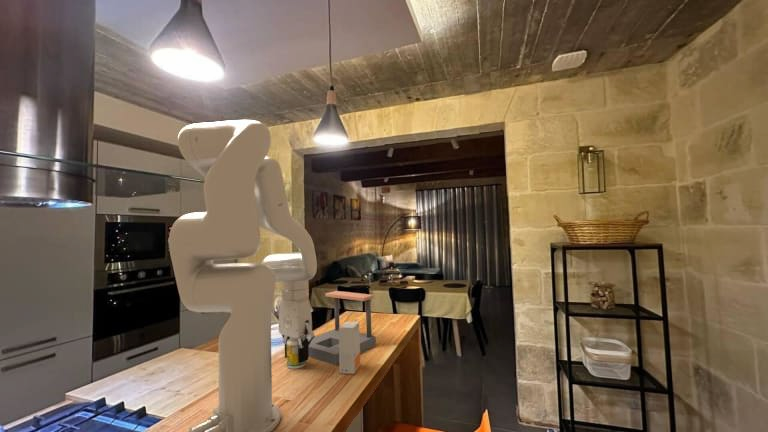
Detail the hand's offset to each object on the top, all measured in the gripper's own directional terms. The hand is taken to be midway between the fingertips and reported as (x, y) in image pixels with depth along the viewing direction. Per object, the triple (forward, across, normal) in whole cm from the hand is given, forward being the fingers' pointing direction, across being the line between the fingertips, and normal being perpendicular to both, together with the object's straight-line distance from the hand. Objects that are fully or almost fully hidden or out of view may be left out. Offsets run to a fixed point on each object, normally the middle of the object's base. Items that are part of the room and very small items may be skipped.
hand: (296, 358), depth 86 cm
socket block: (+2, +1, +15) cm, 15 cm away
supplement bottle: (+2, 0, 0) cm, 2 cm away
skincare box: (+2, +15, +6) cm, 17 cm away
